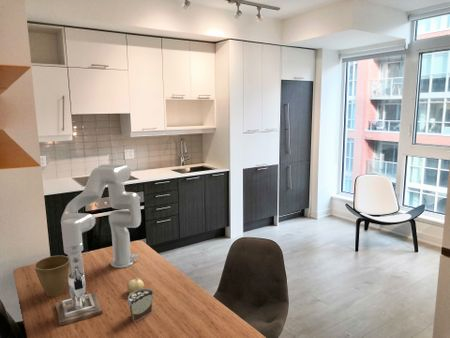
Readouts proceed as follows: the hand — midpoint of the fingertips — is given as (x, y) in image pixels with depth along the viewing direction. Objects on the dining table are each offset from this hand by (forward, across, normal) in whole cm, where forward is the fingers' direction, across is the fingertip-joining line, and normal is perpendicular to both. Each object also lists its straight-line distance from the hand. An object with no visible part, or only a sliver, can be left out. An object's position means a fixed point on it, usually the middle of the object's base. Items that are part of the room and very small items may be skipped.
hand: (77, 283), depth 150 cm
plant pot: (+13, +20, +8) cm, 25 cm away
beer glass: (+11, -1, 0) cm, 11 cm away
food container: (+12, -18, -22) cm, 30 cm away
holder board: (+12, -1, 0) cm, 12 cm away
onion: (+13, +1, -26) cm, 29 cm away
